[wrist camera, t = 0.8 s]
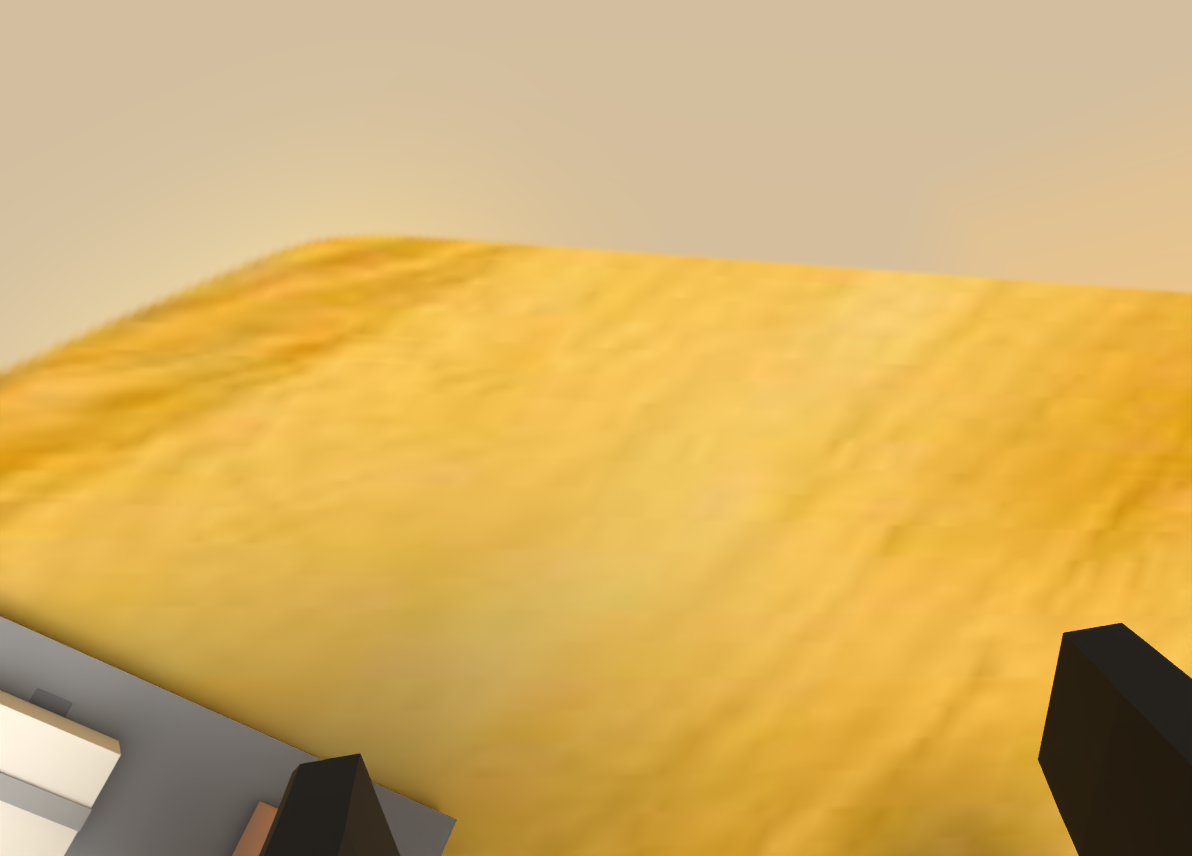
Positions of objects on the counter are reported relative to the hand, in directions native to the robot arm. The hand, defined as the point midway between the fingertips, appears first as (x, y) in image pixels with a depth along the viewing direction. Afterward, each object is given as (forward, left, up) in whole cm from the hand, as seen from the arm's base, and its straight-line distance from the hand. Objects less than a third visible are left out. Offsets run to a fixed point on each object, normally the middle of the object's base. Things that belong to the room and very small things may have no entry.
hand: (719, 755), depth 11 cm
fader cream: (-4, +6, -16) cm, 18 cm away
